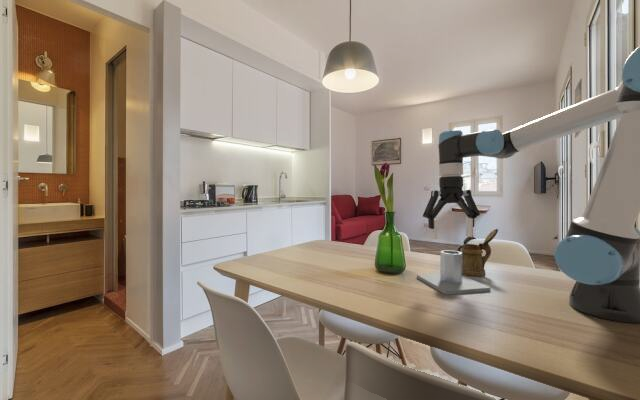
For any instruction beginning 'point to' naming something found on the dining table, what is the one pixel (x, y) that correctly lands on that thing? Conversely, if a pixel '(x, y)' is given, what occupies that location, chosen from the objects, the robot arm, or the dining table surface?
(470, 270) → the wooden mug
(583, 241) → the robot arm
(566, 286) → the dining table surface
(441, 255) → the sleeve
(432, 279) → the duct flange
